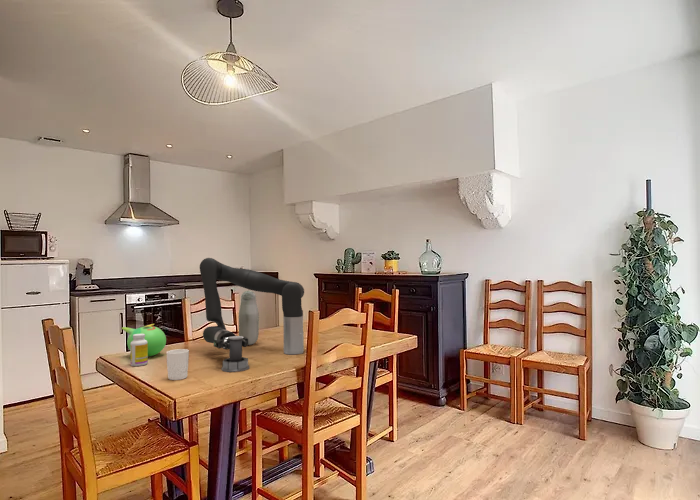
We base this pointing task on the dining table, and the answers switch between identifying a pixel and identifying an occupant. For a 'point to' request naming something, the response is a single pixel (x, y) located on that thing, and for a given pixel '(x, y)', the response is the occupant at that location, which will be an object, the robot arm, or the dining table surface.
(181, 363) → the white cup
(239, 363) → the octagonal ring holder
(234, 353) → the white-topped grey cylinder
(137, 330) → the toy bird
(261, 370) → the dining table surface
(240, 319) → the grey bottle
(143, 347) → the supplement bottle
